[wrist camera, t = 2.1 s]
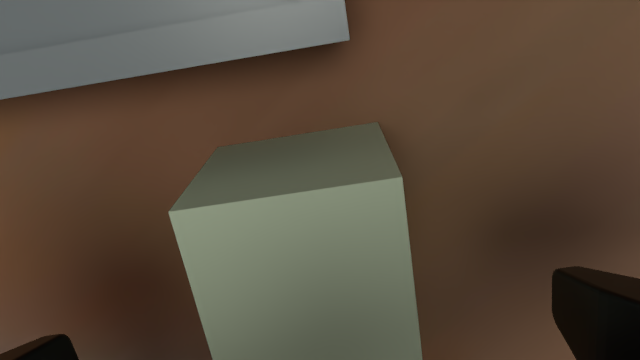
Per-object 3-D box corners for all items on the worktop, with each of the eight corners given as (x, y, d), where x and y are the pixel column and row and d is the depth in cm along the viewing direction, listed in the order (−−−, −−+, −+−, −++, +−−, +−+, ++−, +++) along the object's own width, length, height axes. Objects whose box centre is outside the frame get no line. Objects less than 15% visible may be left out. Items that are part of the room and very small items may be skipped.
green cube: (377, 121, 13) (402, 177, 9) (394, 263, 15) (423, 368, 10) (218, 146, 13) (168, 211, 9) (252, 282, 15) (222, 393, 11)
